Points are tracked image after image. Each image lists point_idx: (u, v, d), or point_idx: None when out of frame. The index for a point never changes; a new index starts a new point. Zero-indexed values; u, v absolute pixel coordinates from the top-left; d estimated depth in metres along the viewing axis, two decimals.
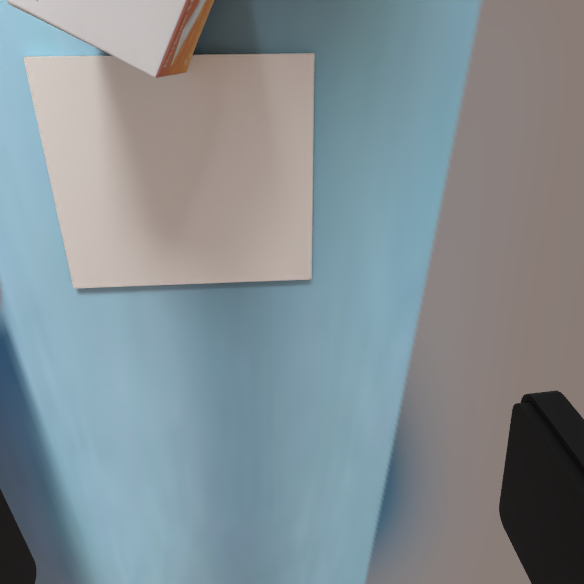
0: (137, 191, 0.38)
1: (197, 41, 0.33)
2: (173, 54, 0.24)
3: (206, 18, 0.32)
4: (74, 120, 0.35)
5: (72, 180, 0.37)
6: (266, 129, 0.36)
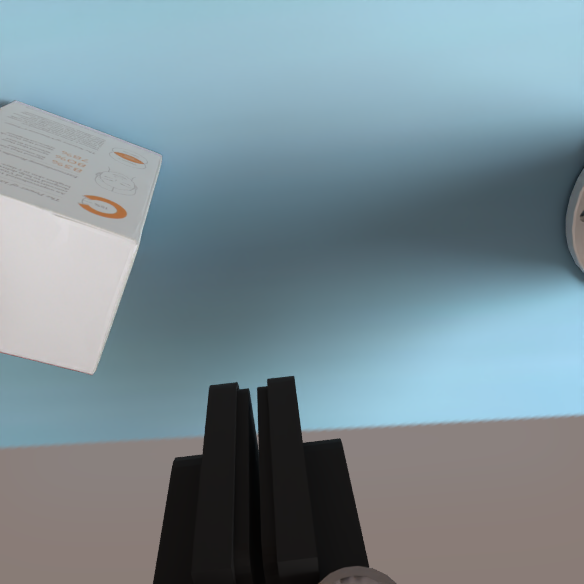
0: None
1: None
2: None
3: None
4: None
5: None
6: None
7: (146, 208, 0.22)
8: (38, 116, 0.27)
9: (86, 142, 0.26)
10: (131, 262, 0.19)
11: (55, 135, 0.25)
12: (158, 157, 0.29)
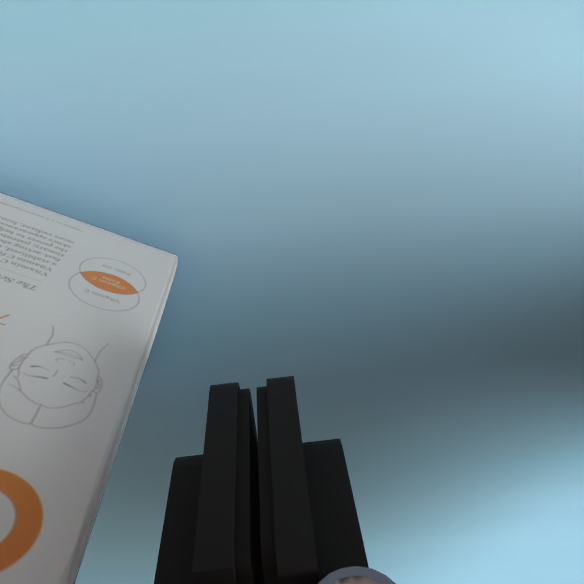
0: None
1: None
2: None
3: None
4: None
5: None
6: None
7: (107, 465, 0.10)
8: None
9: (29, 257, 0.14)
10: None
11: None
12: (169, 265, 0.17)
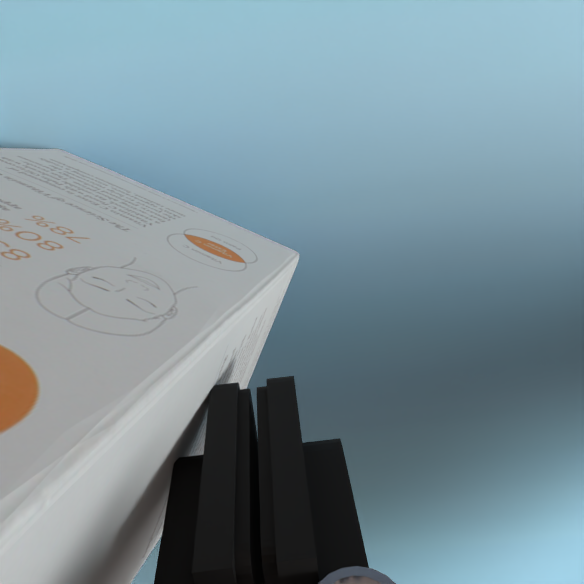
0: None
1: None
2: None
3: None
4: None
5: None
6: None
7: (154, 386, 0.06)
8: (71, 167, 0.14)
9: (132, 212, 0.12)
10: None
11: (62, 193, 0.12)
12: (288, 255, 0.14)
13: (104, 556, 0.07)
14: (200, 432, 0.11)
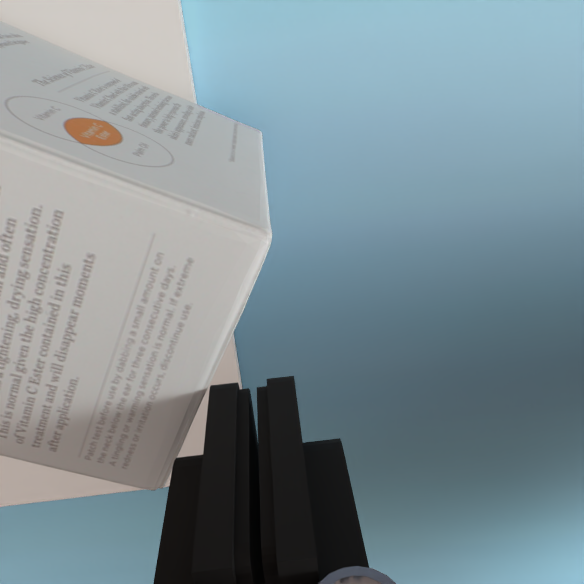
0: None
1: None
2: None
3: None
4: None
5: None
6: None
7: None
8: (199, 114, 0.14)
9: (114, 106, 0.11)
10: None
11: (94, 83, 0.12)
12: (217, 208, 0.08)
13: None
14: None
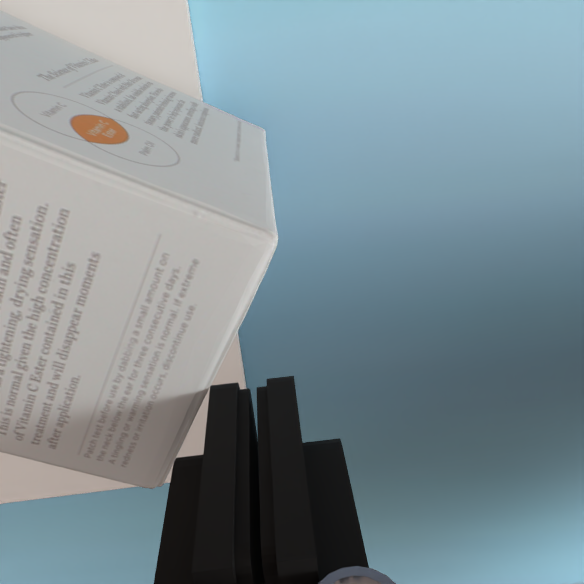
0: None
1: None
2: None
3: None
4: None
5: None
6: None
7: None
8: (203, 111, 0.13)
9: (119, 103, 0.11)
10: None
11: (98, 77, 0.12)
12: (224, 209, 0.08)
13: None
14: None
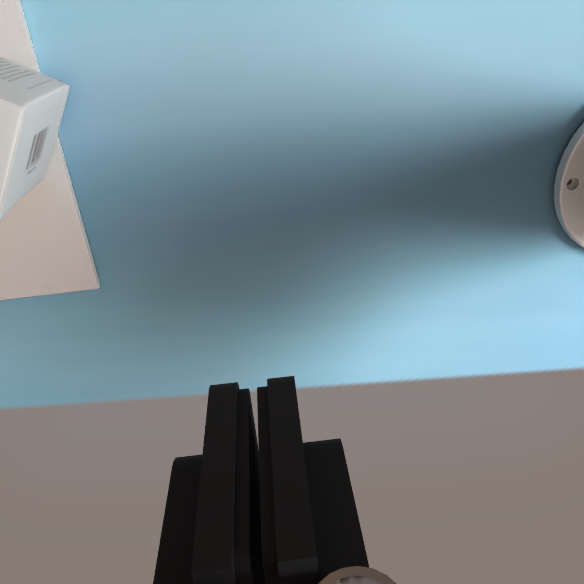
0: None
1: None
2: None
3: None
4: None
5: None
6: (17, 255, 0.36)
7: None
8: (29, 73, 0.30)
9: None
10: None
11: None
12: (3, 97, 0.25)
13: None
14: None
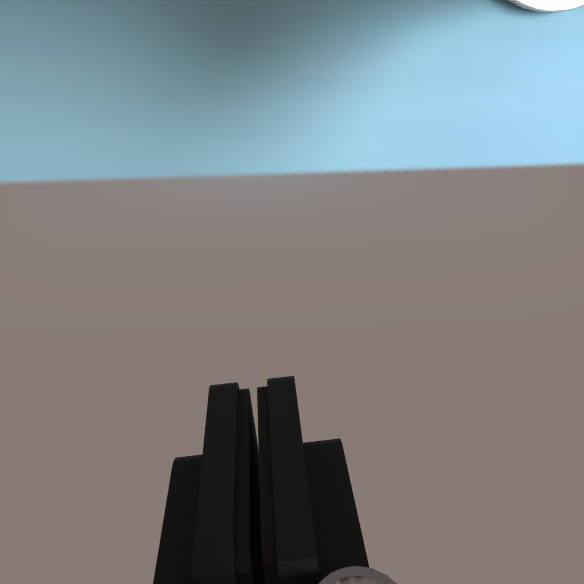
0: None
1: None
2: None
3: None
4: None
5: None
6: None
7: None
8: None
9: None
10: None
11: None
12: None
13: None
14: None
